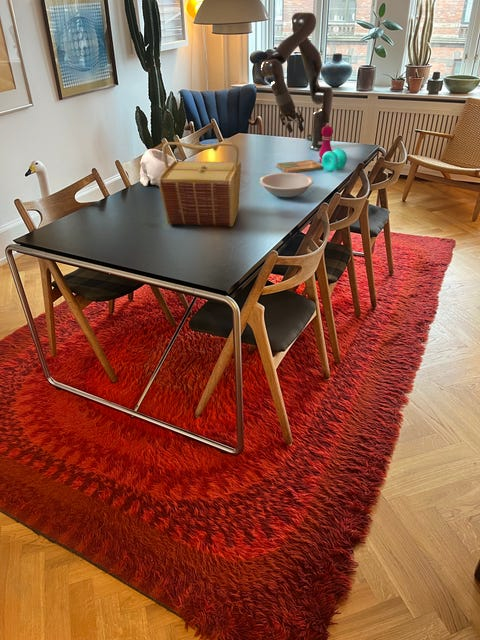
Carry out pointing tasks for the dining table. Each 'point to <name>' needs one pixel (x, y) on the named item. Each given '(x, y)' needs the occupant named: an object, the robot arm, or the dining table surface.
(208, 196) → the picnic basket
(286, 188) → the soup bowl
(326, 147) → the pepper mill
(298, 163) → the oak board
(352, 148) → the dining table surface
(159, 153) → the skull planter
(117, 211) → the dining table surface
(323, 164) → the turquoise spool
